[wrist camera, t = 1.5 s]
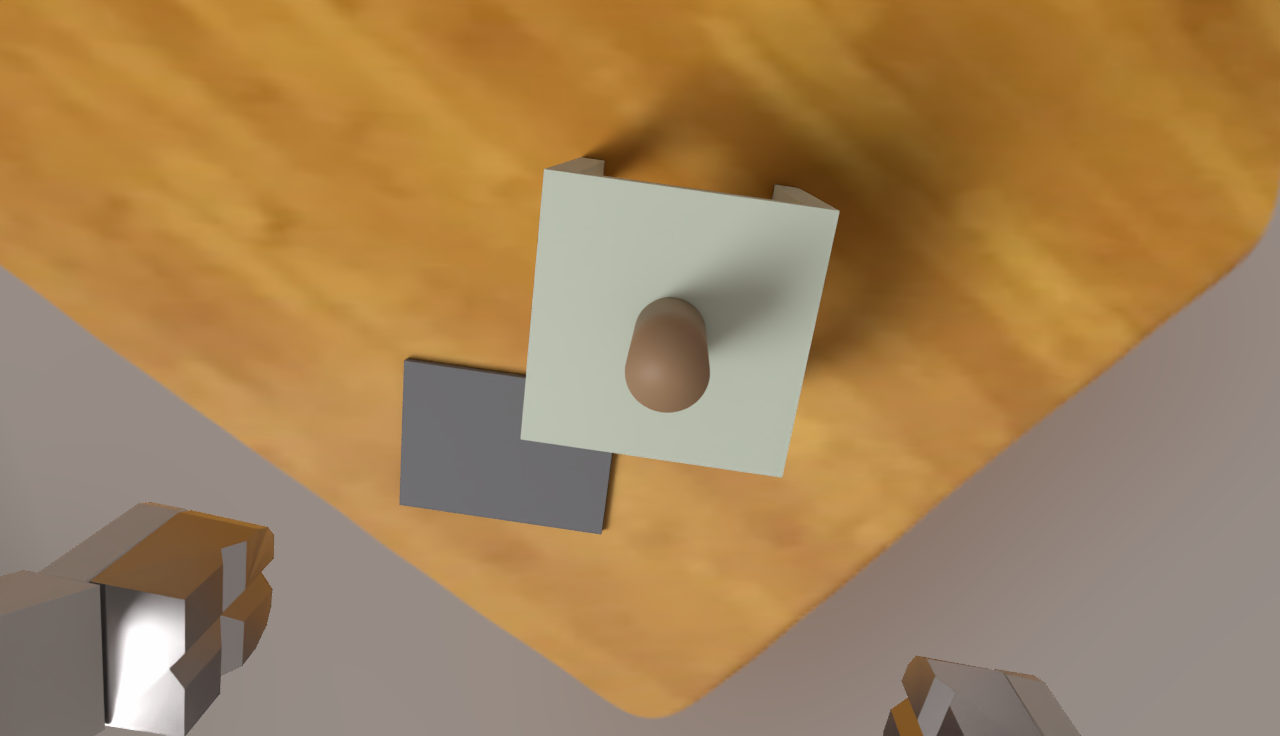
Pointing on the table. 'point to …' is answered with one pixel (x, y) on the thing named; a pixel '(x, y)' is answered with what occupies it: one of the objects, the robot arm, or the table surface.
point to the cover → (672, 318)
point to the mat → (491, 453)
